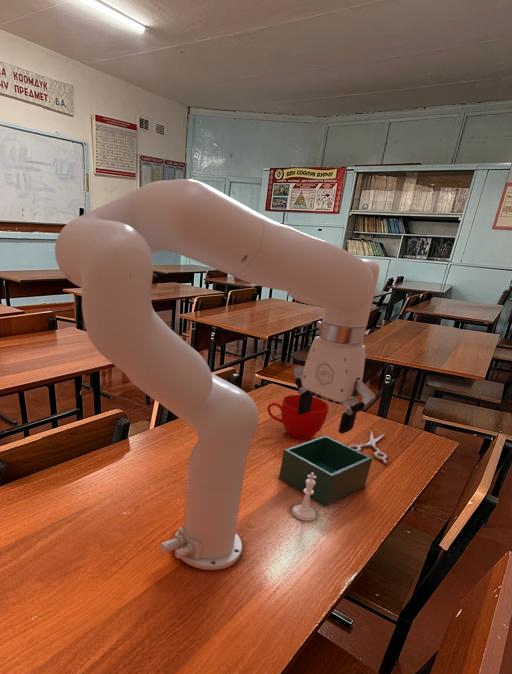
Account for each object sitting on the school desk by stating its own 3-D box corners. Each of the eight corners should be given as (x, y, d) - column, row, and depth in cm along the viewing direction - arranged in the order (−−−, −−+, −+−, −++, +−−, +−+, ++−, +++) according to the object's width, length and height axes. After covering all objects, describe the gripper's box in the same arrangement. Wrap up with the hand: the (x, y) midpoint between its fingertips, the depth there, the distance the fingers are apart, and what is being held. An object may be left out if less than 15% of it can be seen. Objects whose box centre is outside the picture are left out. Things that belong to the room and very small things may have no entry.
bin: (324, 506, 96) (332, 476, 92) (278, 478, 105) (283, 449, 102) (364, 486, 105) (372, 458, 101) (319, 461, 114) (325, 435, 111)
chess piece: (316, 522, 90) (325, 481, 86) (291, 518, 91) (300, 477, 86) (315, 509, 94) (324, 469, 90) (292, 505, 95) (300, 465, 91)
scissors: (346, 450, 120) (360, 425, 136) (345, 452, 120) (360, 428, 136) (386, 462, 115) (397, 435, 131) (386, 464, 115) (396, 437, 131)
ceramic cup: (264, 421, 135) (268, 391, 131) (319, 428, 134) (325, 397, 130) (264, 439, 124) (269, 406, 120) (324, 447, 122) (331, 414, 118)
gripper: (290, 325, 80) (276, 410, 88) (374, 348, 68) (350, 444, 76) (315, 321, 85) (300, 403, 92) (399, 343, 73) (374, 435, 80)
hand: (323, 421), depth 84 cm, fingers open, 9 cm apart
